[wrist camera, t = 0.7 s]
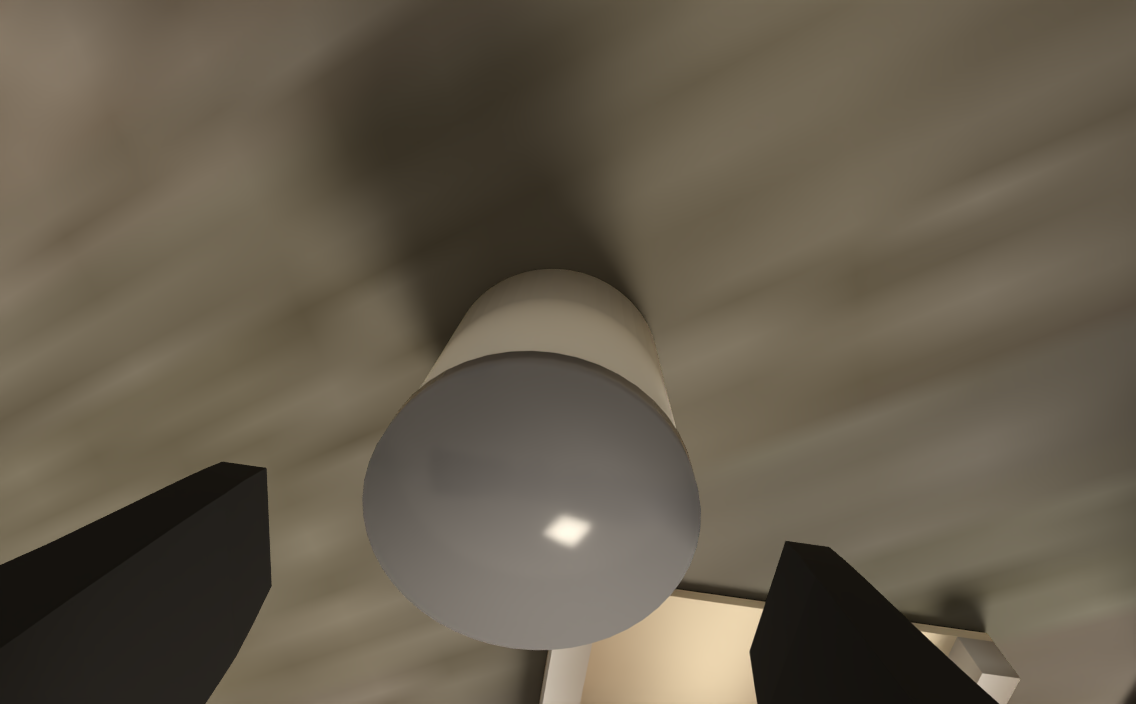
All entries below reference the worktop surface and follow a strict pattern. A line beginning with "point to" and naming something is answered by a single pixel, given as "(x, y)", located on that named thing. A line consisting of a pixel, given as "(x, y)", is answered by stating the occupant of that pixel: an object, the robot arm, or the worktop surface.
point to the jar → (537, 472)
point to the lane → (716, 657)
